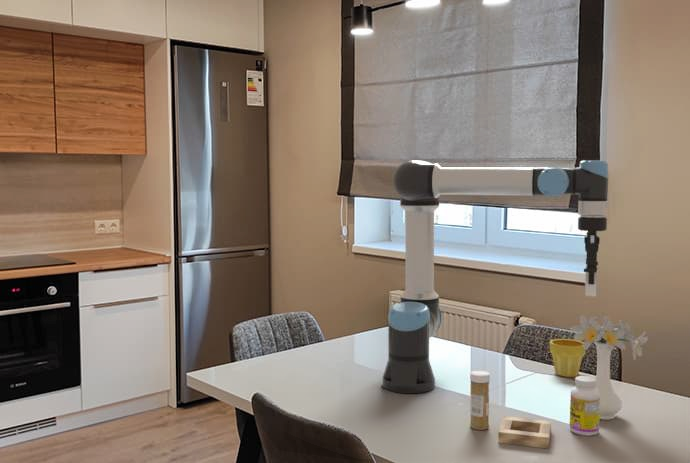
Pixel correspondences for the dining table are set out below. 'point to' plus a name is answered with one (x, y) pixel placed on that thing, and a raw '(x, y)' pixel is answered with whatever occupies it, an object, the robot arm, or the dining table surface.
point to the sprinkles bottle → (479, 400)
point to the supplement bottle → (585, 407)
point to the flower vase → (607, 356)
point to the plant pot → (567, 356)
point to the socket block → (525, 432)
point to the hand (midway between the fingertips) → (590, 292)
